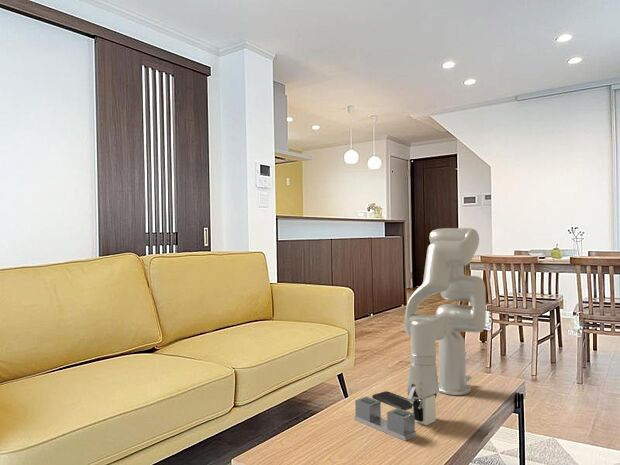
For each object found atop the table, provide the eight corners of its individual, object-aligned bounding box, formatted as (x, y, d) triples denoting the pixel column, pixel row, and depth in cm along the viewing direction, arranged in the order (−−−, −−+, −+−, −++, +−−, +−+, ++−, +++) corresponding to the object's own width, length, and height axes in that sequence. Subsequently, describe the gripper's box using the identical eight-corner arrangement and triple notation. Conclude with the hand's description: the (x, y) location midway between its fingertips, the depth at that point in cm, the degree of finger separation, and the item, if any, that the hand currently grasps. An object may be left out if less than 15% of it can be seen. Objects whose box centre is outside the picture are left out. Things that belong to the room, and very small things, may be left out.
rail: (365, 415, 149) (365, 395, 149) (416, 435, 134) (415, 413, 134) (354, 419, 146) (354, 399, 146) (405, 441, 131) (404, 418, 131)
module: (422, 416, 148) (421, 390, 148) (435, 421, 144) (435, 394, 144) (412, 420, 145) (412, 394, 145) (425, 425, 141) (425, 398, 141)
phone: (386, 390, 170) (418, 402, 157) (386, 393, 170) (418, 406, 157) (370, 395, 165) (401, 408, 153) (370, 398, 165) (401, 411, 153)
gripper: (429, 352, 153) (430, 407, 153) (396, 362, 142) (396, 421, 142) (449, 356, 147) (450, 414, 147) (416, 367, 136) (416, 429, 136)
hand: (424, 417), depth 144 cm, fingers closed on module, 5 cm apart
